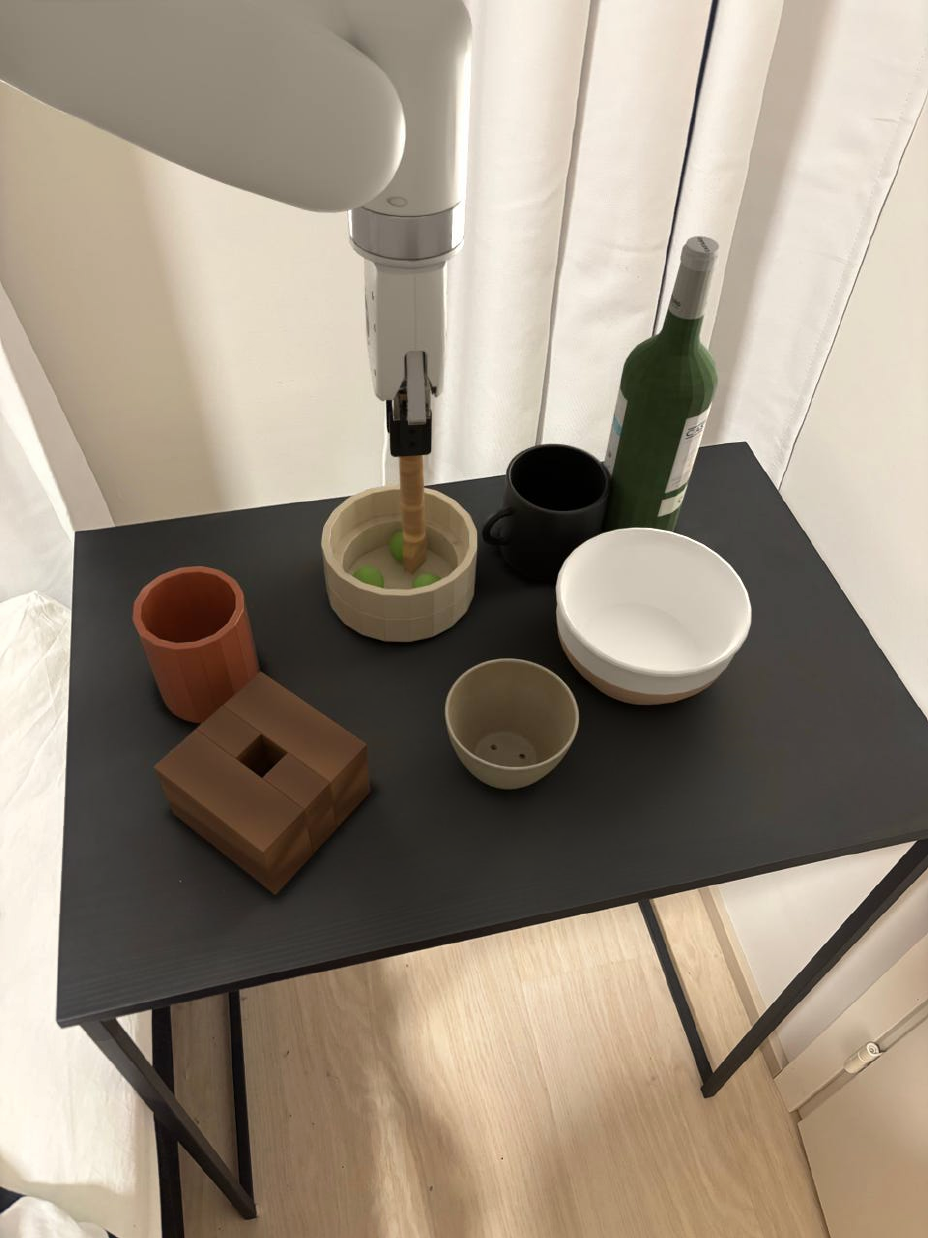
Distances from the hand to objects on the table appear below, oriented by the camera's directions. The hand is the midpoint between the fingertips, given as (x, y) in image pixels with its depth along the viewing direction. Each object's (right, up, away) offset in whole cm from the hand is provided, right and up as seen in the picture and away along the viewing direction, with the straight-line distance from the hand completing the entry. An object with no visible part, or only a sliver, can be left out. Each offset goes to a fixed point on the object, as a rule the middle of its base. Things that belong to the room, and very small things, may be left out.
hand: (408, 440), depth 73 cm
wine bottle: (+21, -6, +18) cm, 28 cm away
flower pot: (+8, -26, +1) cm, 27 cm away
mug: (+11, -8, +16) cm, 21 cm away
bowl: (+20, -17, +9) cm, 28 cm away
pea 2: (-1, -7, +13) cm, 15 cm away
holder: (-10, -28, -2) cm, 30 cm away
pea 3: (+1, -12, +9) cm, 15 cm away
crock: (-17, -19, +5) cm, 26 cm away
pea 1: (-4, -11, +9) cm, 15 cm away
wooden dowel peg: (0, -9, +11) cm, 15 cm away
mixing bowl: (-1, -11, +12) cm, 17 cm away
